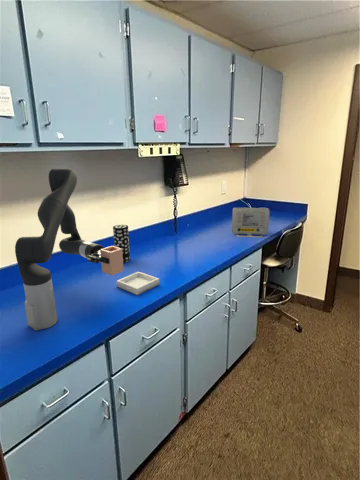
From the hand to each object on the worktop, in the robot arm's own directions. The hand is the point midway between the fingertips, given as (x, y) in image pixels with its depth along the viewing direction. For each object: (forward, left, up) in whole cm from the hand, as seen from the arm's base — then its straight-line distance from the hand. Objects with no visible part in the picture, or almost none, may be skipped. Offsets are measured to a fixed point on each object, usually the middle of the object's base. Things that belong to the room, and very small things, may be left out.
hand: (115, 259), depth 128 cm
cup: (0, +2, -6) cm, 7 cm away
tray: (+14, +2, -18) cm, 23 cm away
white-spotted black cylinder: (+32, +34, -18) cm, 50 cm away
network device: (+122, 0, -18) cm, 124 cm away
